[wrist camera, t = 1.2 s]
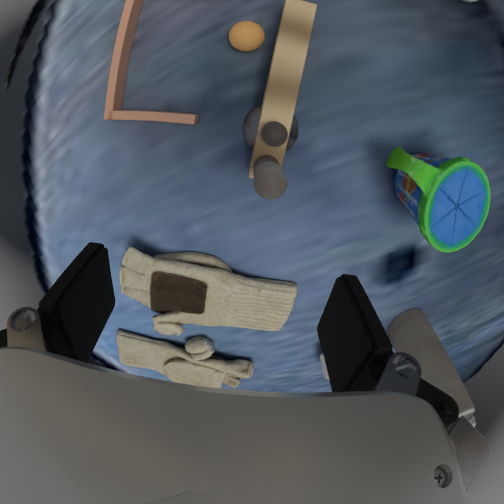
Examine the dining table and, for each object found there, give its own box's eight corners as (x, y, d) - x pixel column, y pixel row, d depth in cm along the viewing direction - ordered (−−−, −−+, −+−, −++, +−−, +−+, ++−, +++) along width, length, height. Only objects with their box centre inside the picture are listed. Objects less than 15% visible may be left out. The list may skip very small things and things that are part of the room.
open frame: (138, -9, 18) (131, -15, 16) (226, -10, 19) (224, -18, 17) (113, 117, 27) (104, 119, 24) (198, 122, 28) (193, 124, 26)
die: (346, 358, 50) (382, 374, 41) (313, 381, 46) (348, 402, 37) (341, 324, 48) (379, 336, 40) (304, 345, 45) (342, 364, 36)
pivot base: (248, 98, 26) (248, 98, 26) (302, 110, 27) (303, 110, 27) (238, 150, 29) (238, 150, 29) (291, 160, 30) (291, 160, 30)
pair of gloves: (131, 225, 34) (116, 244, 30) (305, 282, 39) (312, 307, 35) (118, 353, 49) (110, 373, 44) (236, 387, 54) (235, 408, 49)
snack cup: (462, 185, 31) (507, 214, 22) (422, 237, 35) (459, 277, 26) (400, 110, 26) (451, 120, 18) (353, 174, 31) (390, 205, 22)
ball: (233, 24, 22) (231, 14, 19) (266, 28, 22) (268, 19, 19) (227, 51, 24) (224, 45, 20) (260, 56, 24) (261, 50, 21)
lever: (283, 6, 20) (296, -27, 12) (310, 12, 20) (333, -17, 12) (249, 170, 30) (248, 197, 22) (275, 175, 30) (285, 203, 22)
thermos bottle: (399, 343, 47) (446, 465, 23) (380, 329, 45) (431, 469, 21) (429, 318, 44) (489, 438, 20) (413, 301, 42) (483, 438, 17)
